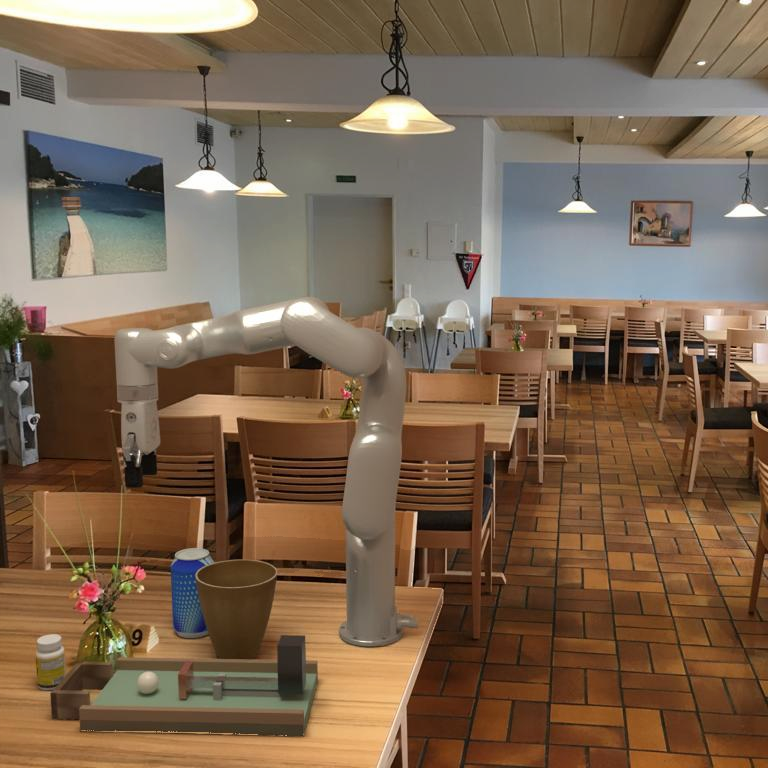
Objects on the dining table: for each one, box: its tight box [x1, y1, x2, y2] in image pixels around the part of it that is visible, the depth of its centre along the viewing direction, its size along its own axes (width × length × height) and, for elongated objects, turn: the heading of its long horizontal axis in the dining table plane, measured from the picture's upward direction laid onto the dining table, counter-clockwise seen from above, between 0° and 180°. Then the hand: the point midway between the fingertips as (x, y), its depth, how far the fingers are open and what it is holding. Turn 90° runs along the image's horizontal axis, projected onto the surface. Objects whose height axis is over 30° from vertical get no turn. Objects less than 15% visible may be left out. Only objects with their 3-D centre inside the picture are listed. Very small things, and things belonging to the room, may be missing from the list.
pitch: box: [79, 656, 319, 737], centre depth 145 cm, size 35×18×5 cm, turn 87°
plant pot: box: [195, 559, 278, 660], centre depth 163 cm, size 15×15×16 cm
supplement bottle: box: [35, 633, 67, 691], centre depth 152 cm, size 5×5×8 cm
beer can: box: [170, 547, 215, 639], centre depth 173 cm, size 8×8×16 cm
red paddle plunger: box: [178, 634, 307, 699], centre depth 144 cm, size 20×5×9 cm, turn 87°
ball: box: [137, 672, 159, 694], centre depth 145 cm, size 4×4×4 cm
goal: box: [50, 661, 114, 721], centre depth 146 cm, size 6×11×4 cm, turn 177°
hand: (141, 480), depth 170 cm, fingers open, 9 cm apart
